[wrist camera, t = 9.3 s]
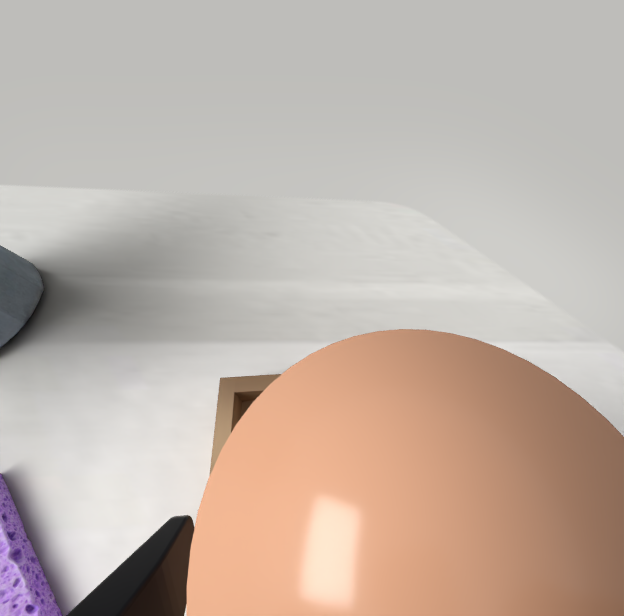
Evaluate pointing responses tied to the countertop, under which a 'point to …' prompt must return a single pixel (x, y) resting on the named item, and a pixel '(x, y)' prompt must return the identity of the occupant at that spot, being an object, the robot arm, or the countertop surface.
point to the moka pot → (16, 293)
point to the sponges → (20, 567)
